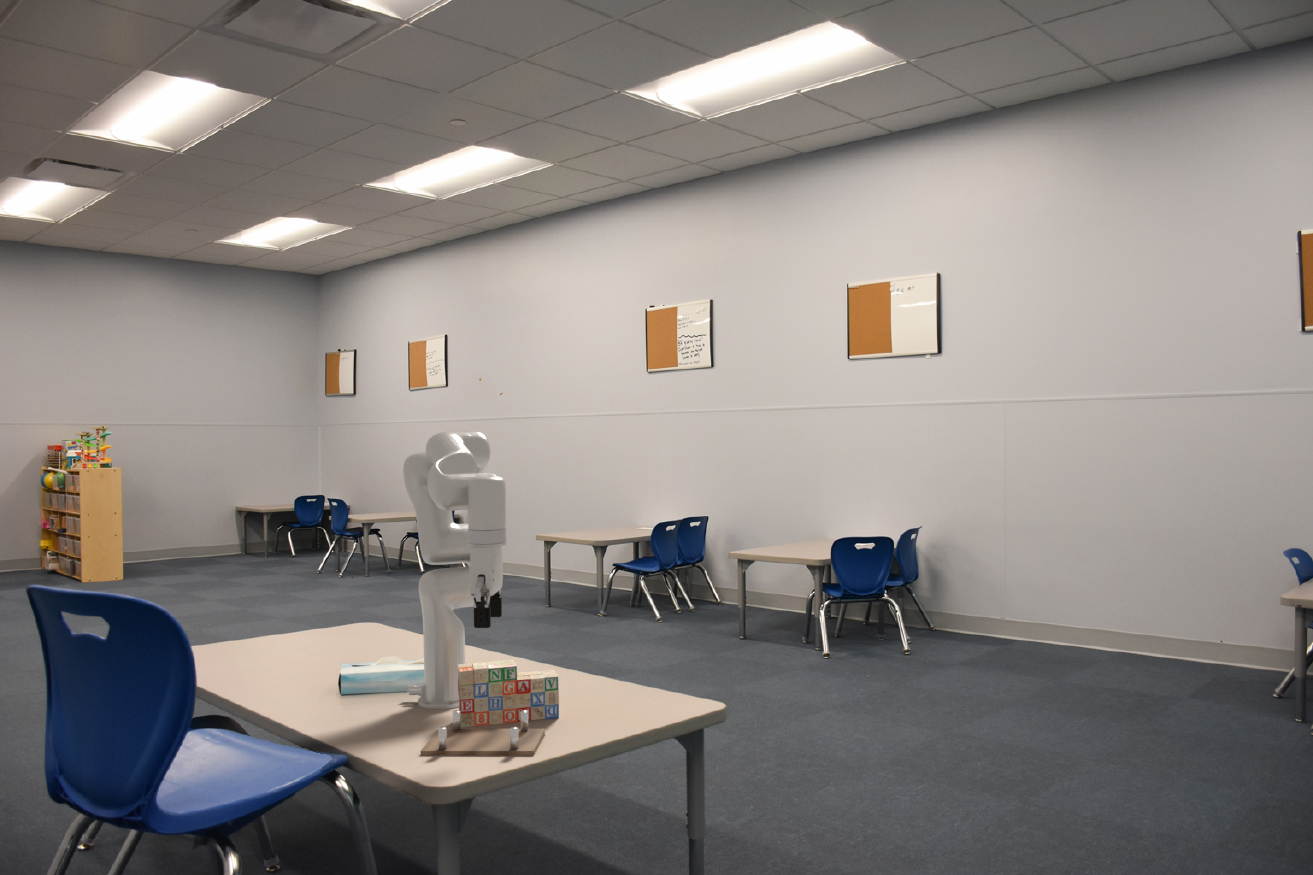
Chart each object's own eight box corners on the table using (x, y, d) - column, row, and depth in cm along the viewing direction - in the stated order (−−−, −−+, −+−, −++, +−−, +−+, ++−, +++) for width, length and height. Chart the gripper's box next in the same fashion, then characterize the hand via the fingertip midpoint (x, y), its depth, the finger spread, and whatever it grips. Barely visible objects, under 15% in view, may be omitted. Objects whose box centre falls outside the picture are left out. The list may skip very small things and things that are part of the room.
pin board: (420, 758, 177) (420, 730, 177) (439, 735, 190) (438, 709, 190) (534, 758, 176) (533, 730, 176) (544, 735, 189) (544, 709, 189)
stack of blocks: (555, 710, 207) (554, 655, 207) (559, 718, 201) (558, 662, 201) (458, 718, 202) (457, 663, 202) (459, 727, 196) (458, 670, 196)
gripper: (479, 532, 194) (480, 612, 194) (457, 543, 177) (458, 632, 177) (514, 532, 193) (515, 613, 194) (495, 543, 176) (496, 632, 177)
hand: (488, 622), depth 185 cm, fingers open, 9 cm apart
